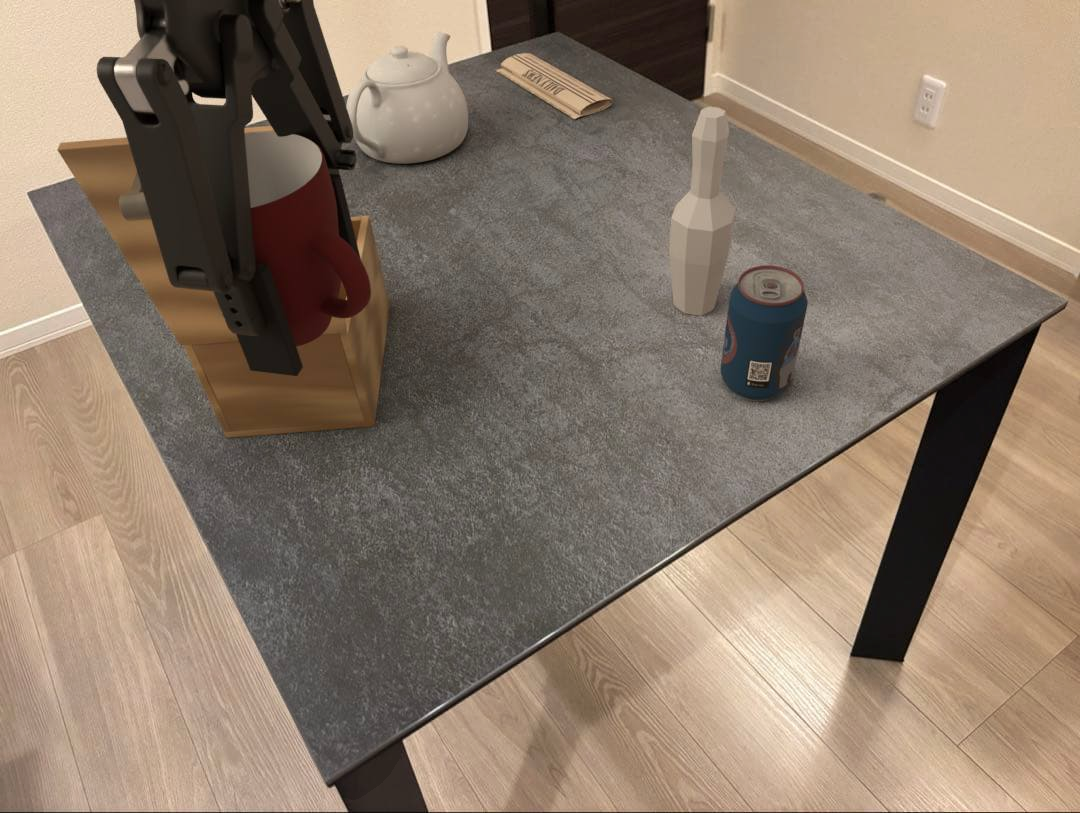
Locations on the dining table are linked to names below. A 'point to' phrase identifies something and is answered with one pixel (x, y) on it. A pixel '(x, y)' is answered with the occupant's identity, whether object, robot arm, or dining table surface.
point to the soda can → (763, 332)
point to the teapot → (408, 106)
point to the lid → (147, 238)
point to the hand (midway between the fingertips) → (310, 318)
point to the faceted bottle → (702, 221)
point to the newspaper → (553, 85)
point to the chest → (305, 370)
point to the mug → (301, 233)
